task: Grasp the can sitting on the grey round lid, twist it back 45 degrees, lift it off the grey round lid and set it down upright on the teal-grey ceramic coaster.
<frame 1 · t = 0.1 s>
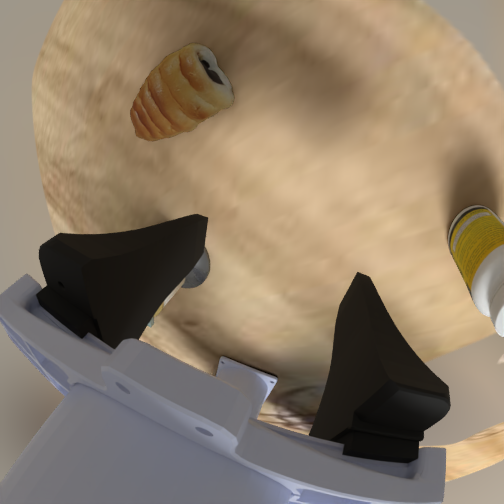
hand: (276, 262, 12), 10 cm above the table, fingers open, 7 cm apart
supplement bottle: (472, 233, 17), on the table
pastry: (189, 95, 20), on the table
grey round lid: (177, 255, 28), on the table
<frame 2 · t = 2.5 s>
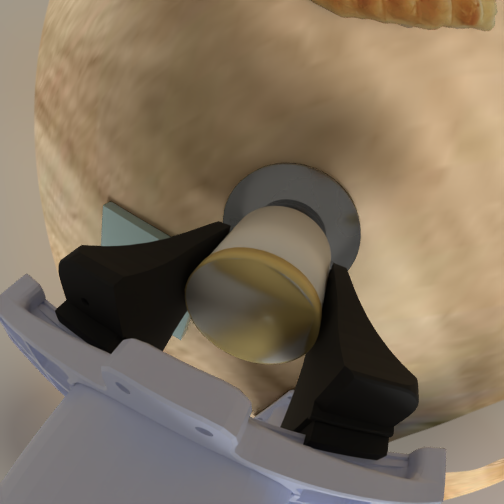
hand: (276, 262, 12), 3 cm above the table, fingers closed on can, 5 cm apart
can: (279, 254, 13), point 2 cm above the table, touching gripper, grey round lid
coaster: (147, 273, 21), on the table
grey round lid: (290, 231, 15), on the table
when the fingers open (3 cm above the table, at t = 8.2 s): can drops 1 cm, resting on coaster.
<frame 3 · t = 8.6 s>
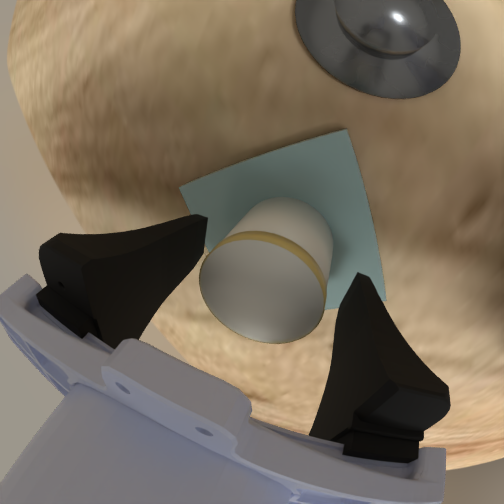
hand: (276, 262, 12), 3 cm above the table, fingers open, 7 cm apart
can: (285, 242, 14), point 1 cm above the table, touching coaster
coaster: (288, 236, 15), on the table
grey round lid: (380, 22, 8), on the table
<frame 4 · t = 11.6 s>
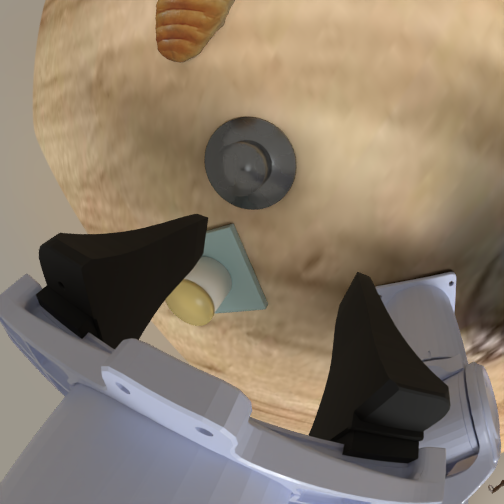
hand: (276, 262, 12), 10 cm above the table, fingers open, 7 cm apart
pastry: (203, 9, 16), on the table
can: (209, 277, 27), point 1 cm above the table, touching coaster
coaster: (213, 273, 28), on the table
grey round lid: (249, 163, 21), on the table
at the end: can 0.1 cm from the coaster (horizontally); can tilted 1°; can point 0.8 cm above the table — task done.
